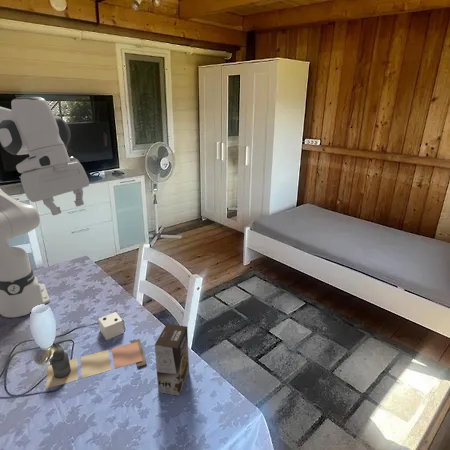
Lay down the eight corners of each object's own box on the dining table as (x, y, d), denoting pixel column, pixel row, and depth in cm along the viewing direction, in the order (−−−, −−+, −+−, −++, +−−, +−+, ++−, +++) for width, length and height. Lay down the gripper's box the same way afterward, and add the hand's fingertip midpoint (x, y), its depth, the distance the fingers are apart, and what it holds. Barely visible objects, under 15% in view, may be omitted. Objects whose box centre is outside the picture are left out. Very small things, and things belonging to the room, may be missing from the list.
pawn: (54, 369, 95) (49, 347, 93) (70, 364, 97) (66, 343, 94) (53, 380, 92) (48, 358, 89) (70, 375, 93) (66, 353, 91)
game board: (45, 365, 98) (44, 363, 98) (139, 340, 109) (139, 338, 108) (42, 396, 88) (41, 394, 87) (147, 365, 98) (146, 363, 98)
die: (100, 333, 112) (98, 317, 110) (117, 326, 116) (115, 310, 113) (106, 342, 108) (104, 326, 105) (124, 335, 111) (122, 319, 109)
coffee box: (180, 396, 88) (177, 348, 82) (157, 392, 89) (153, 344, 84) (190, 370, 96) (188, 325, 91) (169, 367, 98) (166, 322, 92)
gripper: (67, 158, 97) (83, 203, 100) (9, 167, 78) (31, 222, 81) (85, 153, 95) (100, 199, 98) (30, 161, 76) (52, 217, 79)
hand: (69, 209), depth 89 cm, fingers open, 8 cm apart
